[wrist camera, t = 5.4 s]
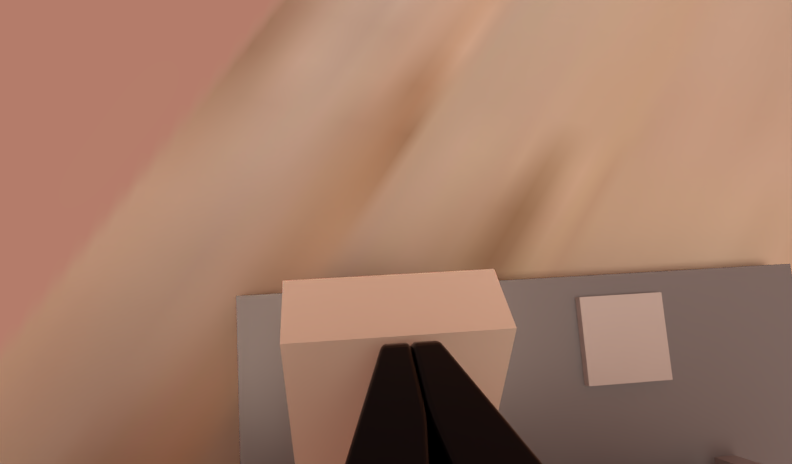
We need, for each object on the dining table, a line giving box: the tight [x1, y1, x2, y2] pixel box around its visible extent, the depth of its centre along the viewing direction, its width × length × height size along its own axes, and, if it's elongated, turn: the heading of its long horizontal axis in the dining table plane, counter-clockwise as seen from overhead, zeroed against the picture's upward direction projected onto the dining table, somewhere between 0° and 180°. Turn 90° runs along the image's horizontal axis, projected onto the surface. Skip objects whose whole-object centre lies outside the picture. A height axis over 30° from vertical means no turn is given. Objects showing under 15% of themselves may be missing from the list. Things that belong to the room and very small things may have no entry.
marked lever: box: [280, 269, 517, 464], centre depth 12 cm, size 1×4×8 cm
